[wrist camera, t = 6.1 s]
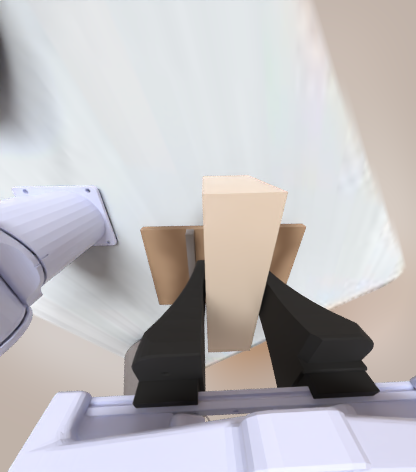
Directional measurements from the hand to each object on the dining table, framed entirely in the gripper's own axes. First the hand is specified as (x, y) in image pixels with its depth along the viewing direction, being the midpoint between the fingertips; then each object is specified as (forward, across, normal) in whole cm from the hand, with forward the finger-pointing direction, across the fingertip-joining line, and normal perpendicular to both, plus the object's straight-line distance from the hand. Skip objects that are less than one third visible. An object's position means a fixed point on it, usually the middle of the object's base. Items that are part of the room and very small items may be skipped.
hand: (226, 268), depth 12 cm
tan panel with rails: (+9, -1, +8) cm, 12 cm away
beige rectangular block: (+3, 0, 0) cm, 3 cm away
